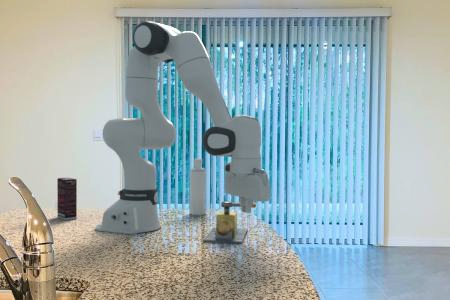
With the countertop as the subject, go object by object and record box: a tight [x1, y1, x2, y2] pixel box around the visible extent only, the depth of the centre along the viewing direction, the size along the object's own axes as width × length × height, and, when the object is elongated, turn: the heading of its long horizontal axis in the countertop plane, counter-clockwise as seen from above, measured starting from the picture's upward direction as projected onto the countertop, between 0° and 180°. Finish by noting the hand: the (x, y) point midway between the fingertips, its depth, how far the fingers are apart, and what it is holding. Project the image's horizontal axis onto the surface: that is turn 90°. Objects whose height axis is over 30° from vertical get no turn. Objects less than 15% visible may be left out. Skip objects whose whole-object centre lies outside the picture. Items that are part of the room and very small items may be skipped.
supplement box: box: [56, 177, 78, 221], centre depth 154 cm, size 9×5×16 cm, turn 43°
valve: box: [202, 207, 248, 245], centre depth 127 cm, size 12×17×10 cm
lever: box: [220, 200, 257, 209], centre depth 126 cm, size 11×4×1 cm, turn 81°
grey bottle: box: [189, 158, 207, 216], centre depth 165 cm, size 7×7×25 cm
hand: (246, 212), depth 120 cm, fingers closed
